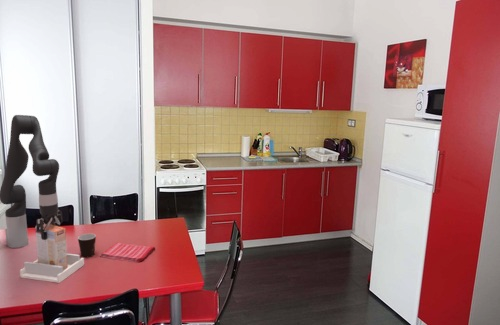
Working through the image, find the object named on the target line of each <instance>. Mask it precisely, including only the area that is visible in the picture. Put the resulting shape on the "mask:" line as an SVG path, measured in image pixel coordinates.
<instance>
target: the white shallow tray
mask: <svg viewBox="0 0 500 325" xmlns="http://www.w3.org/2000/svg"><path fill="white" fill-rule="evenodd" d="M23 265H24V267H23V268H21V269H19V277H20V278H21V279H29V280H30V279H31V280H35V281H36V280H37V281H41V282H42V281H44V282H52V283H58V284H60V283H62V282H63V281H64V280H65V279H67V278H68V277H70V276H71V275H72V274H73V273H75V272H77V271H78V270H79V269H81V268H82V267H83V266H85V257H81V254H76V253H67V265H68V268H67V269H65V270H64V271H63V266H56V265H49V264H41V263H38V259H36V260H34V261H33V262H32V261H24V262H23Z"/></svg>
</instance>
